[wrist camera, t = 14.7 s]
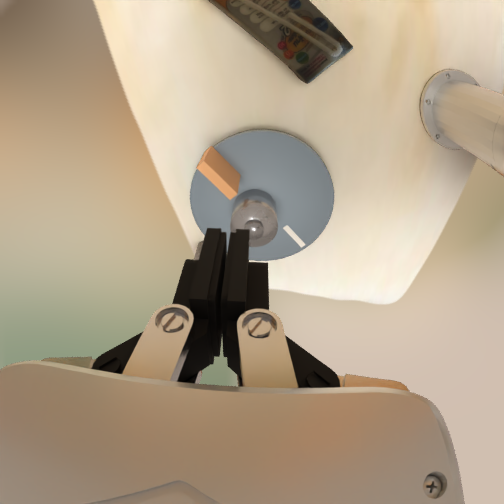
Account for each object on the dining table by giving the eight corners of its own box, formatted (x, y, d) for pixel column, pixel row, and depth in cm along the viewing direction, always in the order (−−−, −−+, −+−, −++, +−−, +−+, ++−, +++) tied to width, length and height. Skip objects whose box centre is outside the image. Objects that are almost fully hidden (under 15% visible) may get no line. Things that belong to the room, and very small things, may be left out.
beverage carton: (300, 83, 36) (307, 88, 31) (194, -9, 29) (182, -19, 23) (344, 47, 33) (358, 46, 28) (238, -47, 25) (234, -63, 20)
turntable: (267, 96, 36) (268, 105, 30) (357, 206, 44) (372, 233, 38) (161, 191, 44) (146, 216, 38) (255, 275, 53) (254, 307, 46)
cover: (254, 180, 41) (253, 200, 36) (285, 209, 44) (288, 232, 39) (224, 208, 44) (219, 231, 39) (254, 234, 46) (253, 259, 41)
